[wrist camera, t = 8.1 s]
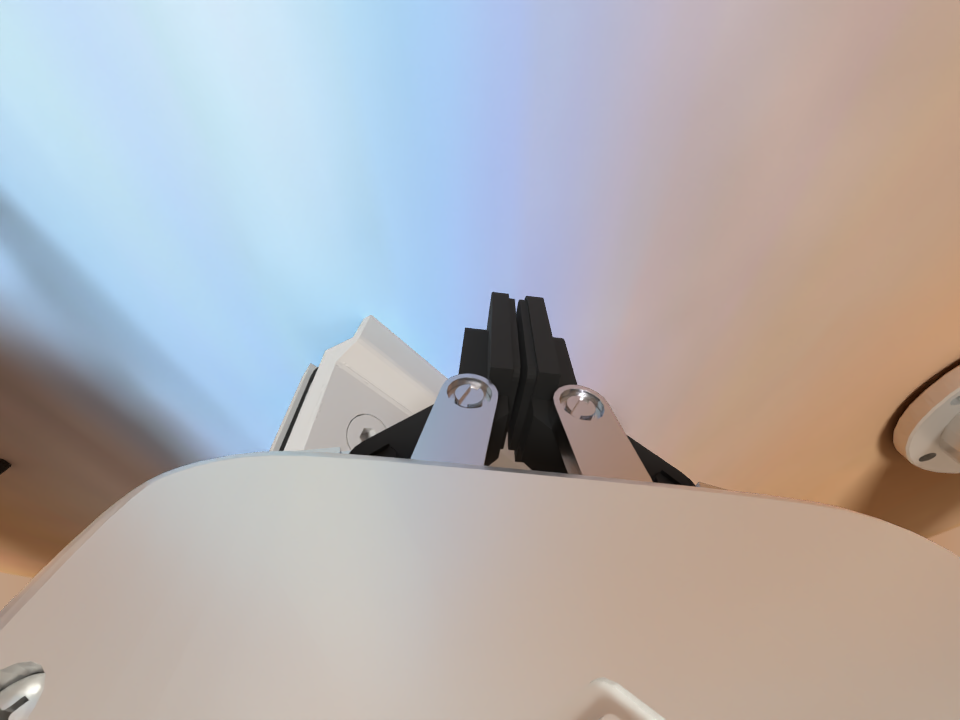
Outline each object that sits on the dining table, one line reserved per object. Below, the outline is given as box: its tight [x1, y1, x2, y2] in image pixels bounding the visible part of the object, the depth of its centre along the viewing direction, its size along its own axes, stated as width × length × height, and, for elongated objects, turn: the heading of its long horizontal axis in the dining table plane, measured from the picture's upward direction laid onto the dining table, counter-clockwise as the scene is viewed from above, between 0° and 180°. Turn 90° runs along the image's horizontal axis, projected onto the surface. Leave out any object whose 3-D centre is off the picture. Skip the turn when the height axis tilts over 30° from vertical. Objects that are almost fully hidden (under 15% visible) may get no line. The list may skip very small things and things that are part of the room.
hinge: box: [270, 315, 530, 470], centre depth 17 cm, size 17×5×10 cm, turn 40°
